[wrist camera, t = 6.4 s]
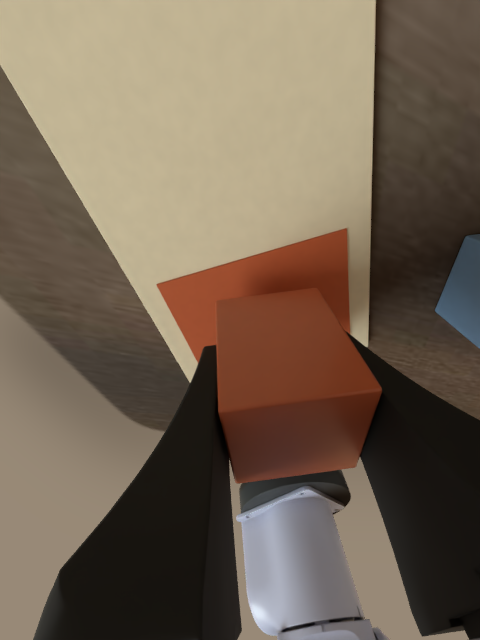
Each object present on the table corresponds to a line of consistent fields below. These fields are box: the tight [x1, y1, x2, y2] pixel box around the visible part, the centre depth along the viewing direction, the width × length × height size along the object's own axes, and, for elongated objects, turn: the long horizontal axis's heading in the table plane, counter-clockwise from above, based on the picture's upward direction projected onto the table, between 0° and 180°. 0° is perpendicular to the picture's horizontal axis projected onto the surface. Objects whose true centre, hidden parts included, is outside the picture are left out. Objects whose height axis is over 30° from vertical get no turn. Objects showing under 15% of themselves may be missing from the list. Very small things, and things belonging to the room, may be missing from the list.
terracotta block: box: [215, 288, 382, 483], centre depth 10 cm, size 4×4×5 cm
